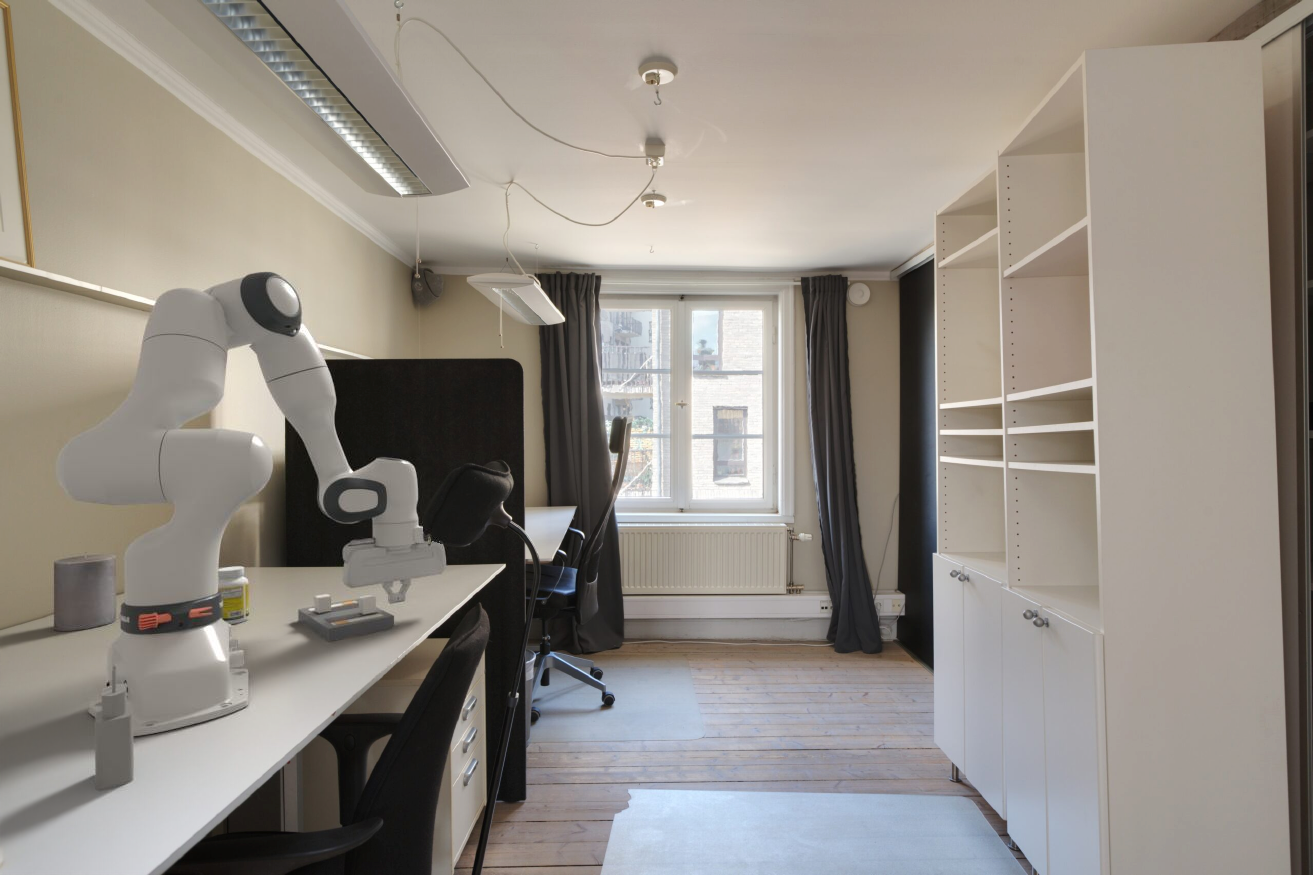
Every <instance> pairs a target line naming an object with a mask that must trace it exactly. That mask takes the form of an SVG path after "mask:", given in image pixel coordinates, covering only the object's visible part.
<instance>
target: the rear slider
mask: <svg viewBox="0 0 1313 875" xmlns="http://www.w3.org/2000/svg"><path fill="white" fill-rule="evenodd" d="M313 597H314V598H313V599H314V600H313V602H314V603H313V604H314V606H313V607H314V611H316V612H317V613H322V612H327V611H331V604H332V596H331V595H330V594H328V593H325V594H318V595H314V596H313Z"/></svg>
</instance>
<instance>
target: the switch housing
mask: <svg viewBox="0 0 1313 875" xmlns="http://www.w3.org/2000/svg"><path fill="white" fill-rule="evenodd" d="M297 611H298V612H297V614H298V617H297V618H298V620H297V621H298V622H300V623H301V624H302V625H303V626H304V627H307V629H310V631H312V632H314V633H315V634H317V635H318V636H320V638H322V639H324V640H326V641H327V642H335V641H340V640H343V639H349V638H354V637H358V636H363V635H366V634H367V635H368V634H372V633H373V634H374V633H376V632H381V631H386V630H391V629H395V615H393V614H392V613H390V612H387V611H385V610H384V609H381V608H378V607H377V606H376V612H374V613H369V614H364V615H363V614H361V613H360V612H359V598H356V599H355V598H354V599H350V600H345V601H338V602H333V603H332V602H331V611H327V612H322V613H317V612H316V611H314V606H309V607H304V608H299V609H297Z"/></svg>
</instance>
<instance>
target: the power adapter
mask: <svg viewBox="0 0 1313 875" xmlns="http://www.w3.org/2000/svg"><path fill="white" fill-rule="evenodd" d="M101 698H102V707H101V708H99V709H97V712H96V718H95V717H94V718H95V719H94V754H95V755H94V762H95V764H94V766H95V768H94V770H95V771H94V772H95V780H94V781H95V790H96V791H104V790H105V791H106V790H108V789H113V788H115V787H119V786H123V785H126V784H129V783H131V782H132V781H134V771H135V770H134V769H135V766H134V765H135V762H134V760H135V759H134V758H135V755H134V736H133V702H127V685H126V684H116V666H113V671H112V685H111V686H108V687H106V686H105V687H104V688H102V690H101Z"/></svg>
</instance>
